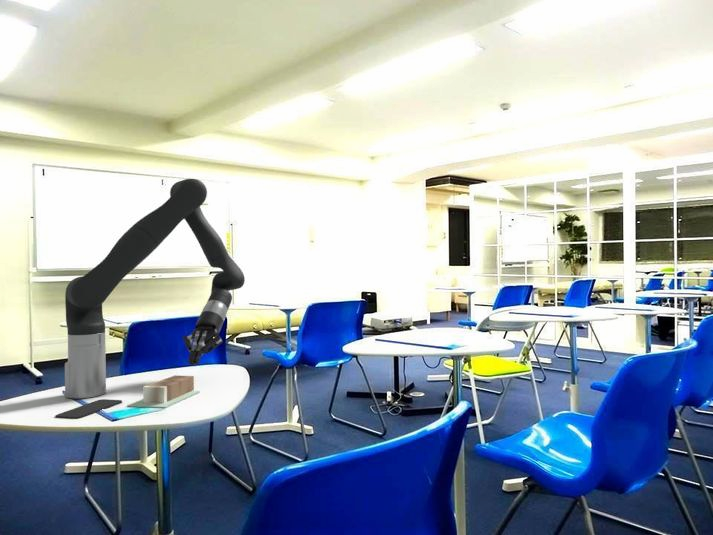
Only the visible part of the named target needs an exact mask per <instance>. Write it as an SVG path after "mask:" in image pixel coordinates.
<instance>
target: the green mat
mask: <svg viewBox="0 0 713 535" xmlns="http://www.w3.org/2000/svg"><path fill="white" fill-rule="evenodd" d="M200 392H201V391H200V390H199V391H197V390H193V391H191V392H188V393H186V394H184V395H182V396H179V397H177V398H175V399H173V400H170V401H168V402H166V403H146V402H143V398H141V399H139V400H136V401H134V402H131V403H129V404H127V405H126V407H133V408H134V407H136V408H137V407H139V408H159V409H160V408H161V409H166V408H169V407H171V406H173V405H175V404H177V403H181V402H182V401H184V400H187V399H188V398H191V397H193V396H195V395H198V394H199V393H200Z"/></svg>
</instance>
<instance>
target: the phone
mask: <svg viewBox="0 0 713 535" xmlns="http://www.w3.org/2000/svg"><path fill="white" fill-rule="evenodd" d="M122 403H123V400H122V399H110V398H109V399H105V398H104V399H97V400H94V401H91V402H89V403H86V404H83V405H81V406H76V407H75V408H72V409H68V410H66V411H63V412H60V413H57V414H56V415H55V416H54V417H55V418H57V419H70V420H73V419H74V420H79V419H83V418H85V417H88V416H92V415H94V414H97V413H99V412H101V411H100V410H102V409H105V410H106V409H109V408H112V407H114V406H117V405H120V404H122ZM102 411H103V410H102Z"/></svg>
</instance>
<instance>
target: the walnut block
mask: <svg viewBox="0 0 713 535" xmlns="http://www.w3.org/2000/svg"><path fill="white" fill-rule="evenodd" d="M194 384H195V377H194V375H177V374H176V375H172V376H170V377H166V378H164V379H160V380H158V381H156V382H152V383H150V384H148V385H144V386H143V387H142V391H143V395H142V396H143V398H142V399H143V402H146V403H166V402H168V401H170V400H173V399H175V398H177V397H179V396H182V395H184V394H186V393H188V392H191V391H195V385H194Z"/></svg>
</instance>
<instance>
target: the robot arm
mask: <svg viewBox="0 0 713 535" xmlns="http://www.w3.org/2000/svg"><path fill="white" fill-rule="evenodd" d="M207 195H208V190H207V186H206V185H205V184H204V182H202V180H199V179H196V178H186V179H183V180H179V181H177V182H175V183H173V184H172V186H171V188H170V191H169V198H168V199H167V200H166V201H165V202H163V204H162V205H161V206H159V207H157V208H156V209H154V210H153V211H151V212H149V213H148V214H146V215H145V216H143V217H142V218H141V219H139V220H138V221H137V222H135V223H134V224H133V225H132V226H131V227H130V228H129V229H127V231H125V232H124V233H123V234H122V235H121V237H120V238H118V240H117V241H116V243H115V244H114V246H112V248H111V249H110V251H109V252H108V254H107V255H106V257H105V258H103V259H102V261H100V263H98V264H97V265H96V266H94V268H92V269H91V270H89V271H88V272H87V273H86V274H84V275H82V276H78V277H75V278H73V279H72V280H71V281H69V283H68V284H67V286H66V288H65V297H64V299H65V300H64V301H65V323H66V327H67V361H66V362H65V363H64V398H65V399H88V398H95V397H99V396H102V395H105V394H106V393H107V374H106V373H107V372H106V371H107V367H106V364H107V362H106V359H107V358H106V357H107V356H106V355H107V354H106V322H105V320H104V316H103V303H104V302H105V301H106V300H107V299H108V297H109V296H110V294H111V293H113V291H114V290H115V289H116V287H117V286H118V285H119V284H120V282H122V280H123V279H124V278H125V277H126V276H127V275H129V273H131V272H132V271H133V270H134V269H136V268H137V267H138V266H139V265H140V264H142V263H143V261H144V260H146V259H147V258H148V257H149V256H150V255H151V254H152V253H153V252H154V251H155V250H156V249H157V248H158V247H159V246H160V245H161V244H162V242H164V240H166V238H167V237H169V235H171V233H172V232H173V231H174V230H175V229H176V227H178V225H179V224H180V223H181V222H182V221H183V220H185V221H186V223H187V225H188V227H189V228H190V230H191V231H192V233H193V235H194V237H195V238H196V240H197V242H198V244H199V246H200V248H201V250H202V252H203V254H204V257H205V259H206V260H207V262H208V264H209V266H210V267H211V268H215V269H221V270H222V271H219V272H217V273H216V274H215V275H214V277H213V278H212V281H211V282H212V283H211V289H210V295H209V297H208V299H207V302H205V305H204V307H203V308H202V310H201V313H200V315H199V317H198V319H197V321H196V322H195V327H194V330H192V332H191V334H190V335H188V336H187V335H183V336H182V338H183V343H184V345H185V346H186V349H187V350H188V352H189V353H190V354H189V356H188V358H187V362H188V364H189V365H190V366H196V365H197V364H199V362H200V360H201V357H202V356H203V355H204V354H207V355H208V354H209V353H211V352H212V351H214V350H215V349H216V348H217V347H218V346H220V345H221V344H222V343H223V342H224V341H223V340H222V338H221V336H220V335H219V334H220V332H221V329H222V327H223V324H224V322H225V319H226V316H227V314H228V311H229V309H230V306H231V303H232V299H233V296H232V293H231V292H230V291H233V290H238V289H241V288H242V287H243V286H244V284H245V275H244V272H243V271H242V269H241V268H240V266H238V264H237V263H236V262H235V260H234V259H232V257H231V256H230V255H229V253H228V251H227V248H226V246H225V245H224V243H223V240H222V238H221V236H220V235H219V234H218V232H217V231H216V230H215V229H214V228H213V226H212V225H211V224H210V223H209V221H208V220H207V218H206V217H205V215H204V213H203V211H202V209H201V206H202V205H204V203H205V202H206V200H207Z"/></svg>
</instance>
